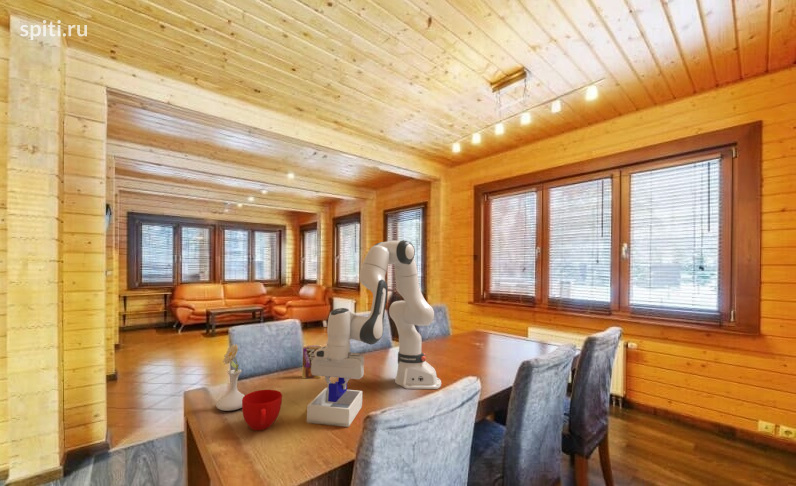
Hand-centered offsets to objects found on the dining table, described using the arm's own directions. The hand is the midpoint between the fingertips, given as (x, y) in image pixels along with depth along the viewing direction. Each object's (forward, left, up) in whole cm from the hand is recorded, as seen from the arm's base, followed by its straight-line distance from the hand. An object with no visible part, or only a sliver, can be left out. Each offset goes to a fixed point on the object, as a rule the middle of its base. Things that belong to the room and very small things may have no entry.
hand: (336, 388), depth 128 cm
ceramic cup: (+21, +16, -10) cm, 28 cm away
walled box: (0, 0, -9) cm, 9 cm away
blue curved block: (0, 0, -3) cm, 3 cm away
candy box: (+26, -37, -10) cm, 46 cm away
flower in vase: (+40, +4, -10) cm, 42 cm away
